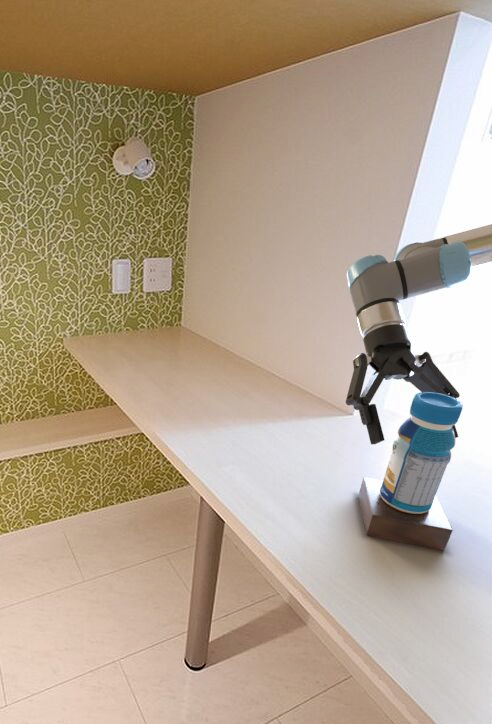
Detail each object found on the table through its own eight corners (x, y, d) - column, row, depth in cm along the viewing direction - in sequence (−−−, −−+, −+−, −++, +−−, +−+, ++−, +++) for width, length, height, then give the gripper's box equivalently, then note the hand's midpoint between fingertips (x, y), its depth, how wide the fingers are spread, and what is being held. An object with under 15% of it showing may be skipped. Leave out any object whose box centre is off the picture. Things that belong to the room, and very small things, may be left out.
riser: (426, 508, 83) (433, 489, 81) (444, 551, 73) (452, 530, 71) (358, 495, 87) (363, 477, 85) (366, 535, 76) (372, 514, 74)
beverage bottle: (410, 521, 73) (448, 414, 64) (367, 493, 80) (396, 393, 71) (442, 508, 76) (482, 405, 68) (398, 482, 83) (429, 386, 74)
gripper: (430, 341, 87) (463, 443, 80) (312, 343, 84) (335, 449, 77) (459, 321, 80) (498, 431, 73) (331, 322, 77) (358, 437, 70)
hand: (414, 440), depth 75 cm, fingers open, 13 cm apart
